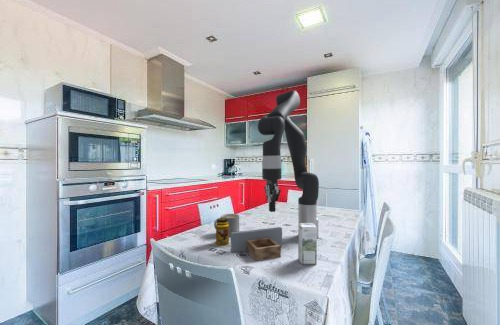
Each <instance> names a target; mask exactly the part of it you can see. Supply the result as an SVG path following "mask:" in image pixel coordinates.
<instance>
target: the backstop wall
mask: <svg viewBox="0 0 500 325" xmlns="http://www.w3.org/2000/svg"><path fill="white" fill-rule="evenodd" d="M262 238H271V239H272V240H273V241H275V242H276V243H278V244H279V245H280V246H281V247H282V246H283V228H282V227H281V226H280V227H278V226H277V227H268V228H259V229H250V230H249V229H248V230H242V231H240V230H239V232H231V237H230V242H231V244H230V252H231V253H238V252H247V240H254V239H262Z"/></svg>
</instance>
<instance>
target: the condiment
mask: <svg viewBox="0 0 500 325" xmlns="http://www.w3.org/2000/svg"><path fill="white" fill-rule="evenodd" d="M215 239H216V240H215V241H213V242H211V243H210V245H212V246H215V247H220V248H225V247H227V246H230V245H231V241H230V237H229V224H228V219H227V218H221V217H219V218H217V224H216V229H215Z"/></svg>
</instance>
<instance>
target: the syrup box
mask: <svg viewBox="0 0 500 325" xmlns="http://www.w3.org/2000/svg"><path fill="white" fill-rule="evenodd" d="M297 225H298V229H297V230H298V231H297V235H298V236H297V237H298V238H297V239H298V241H297V242H298V243H297V245H298V248H297V249H298V251H297V258H298V260H299V262H300V264H301V265H303V266H305V265H308V266H309V265H317V256H318V253H317V251H318V247H317V246H318V244H317V243H318V242H317V241H318V238H317V227H316V226H315V225H314V224H313V223H298V224H297Z"/></svg>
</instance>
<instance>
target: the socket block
mask: <svg viewBox="0 0 500 325" xmlns="http://www.w3.org/2000/svg"><path fill="white" fill-rule="evenodd" d="M281 249H282V246H280V245H279V244H278V243H276V242H275V241H273V240H272V239H271V238H262V239H254V240H247V250H246V252H247V253H248V255H249V256H251V257H252V259H253V260H255V261H256V262H257V261H262V260H269V259H275V258H281V257H282V252H281V251H282V250H281Z"/></svg>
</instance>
